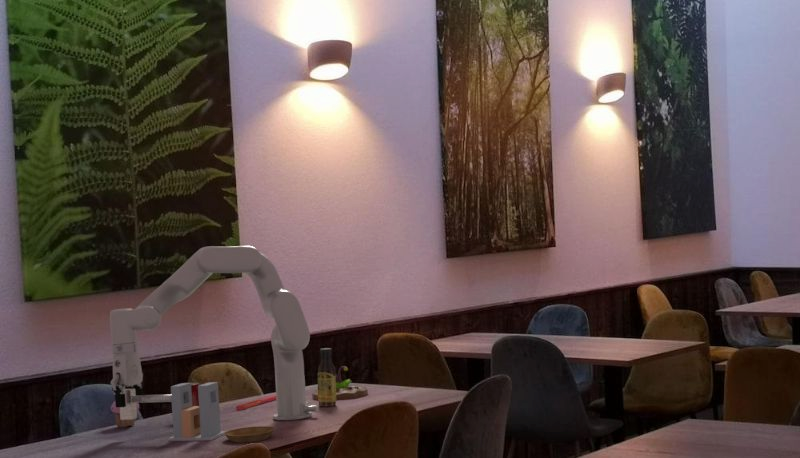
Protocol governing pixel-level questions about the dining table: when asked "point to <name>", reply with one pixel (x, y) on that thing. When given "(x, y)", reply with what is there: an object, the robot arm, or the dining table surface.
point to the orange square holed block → (191, 421)
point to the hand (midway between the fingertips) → (129, 404)
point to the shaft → (132, 399)
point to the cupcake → (117, 414)
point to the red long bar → (256, 402)
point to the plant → (345, 389)
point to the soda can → (195, 394)
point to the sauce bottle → (326, 379)
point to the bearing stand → (206, 409)
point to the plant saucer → (249, 434)
